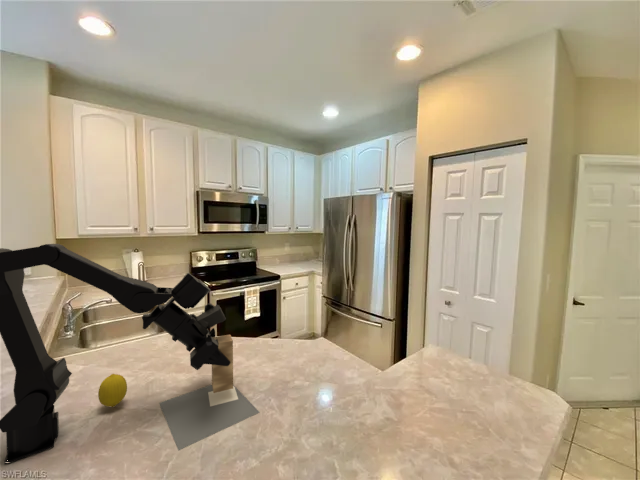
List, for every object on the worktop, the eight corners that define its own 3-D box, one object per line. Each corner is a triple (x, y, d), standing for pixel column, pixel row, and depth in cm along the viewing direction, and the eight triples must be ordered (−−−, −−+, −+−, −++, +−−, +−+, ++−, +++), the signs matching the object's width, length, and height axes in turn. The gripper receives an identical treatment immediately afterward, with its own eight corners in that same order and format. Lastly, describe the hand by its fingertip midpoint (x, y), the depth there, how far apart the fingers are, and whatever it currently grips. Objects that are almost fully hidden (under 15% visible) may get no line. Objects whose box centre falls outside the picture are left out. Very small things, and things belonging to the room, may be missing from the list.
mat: (178, 453, 52) (178, 450, 52) (159, 405, 67) (159, 402, 67) (259, 414, 63) (259, 412, 63) (227, 380, 78) (227, 378, 78)
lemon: (93, 410, 65) (93, 376, 65) (120, 397, 70) (119, 366, 70) (106, 417, 62) (105, 382, 62) (132, 403, 67) (131, 371, 67)
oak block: (213, 393, 66) (212, 344, 66) (211, 383, 70) (211, 337, 70) (233, 388, 68) (232, 340, 68) (230, 379, 72) (230, 334, 72)
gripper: (207, 305, 59) (258, 347, 64) (202, 289, 75) (243, 323, 81) (165, 349, 55) (223, 389, 61) (170, 322, 72) (215, 355, 77)
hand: (227, 360), depth 70 cm, fingers closed on oak block, 5 cm apart
